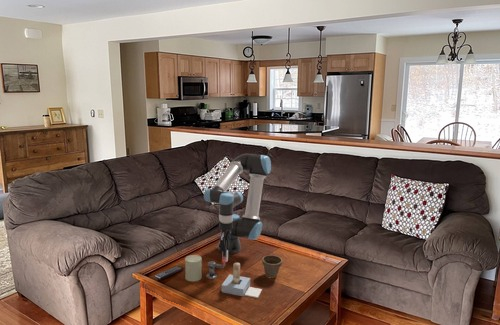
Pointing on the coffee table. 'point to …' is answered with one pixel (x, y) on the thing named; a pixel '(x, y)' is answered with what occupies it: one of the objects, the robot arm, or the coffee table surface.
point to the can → (193, 267)
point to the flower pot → (271, 265)
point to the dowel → (236, 273)
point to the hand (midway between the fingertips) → (225, 261)
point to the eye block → (236, 286)
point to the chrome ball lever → (213, 264)
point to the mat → (253, 292)
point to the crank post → (211, 274)
